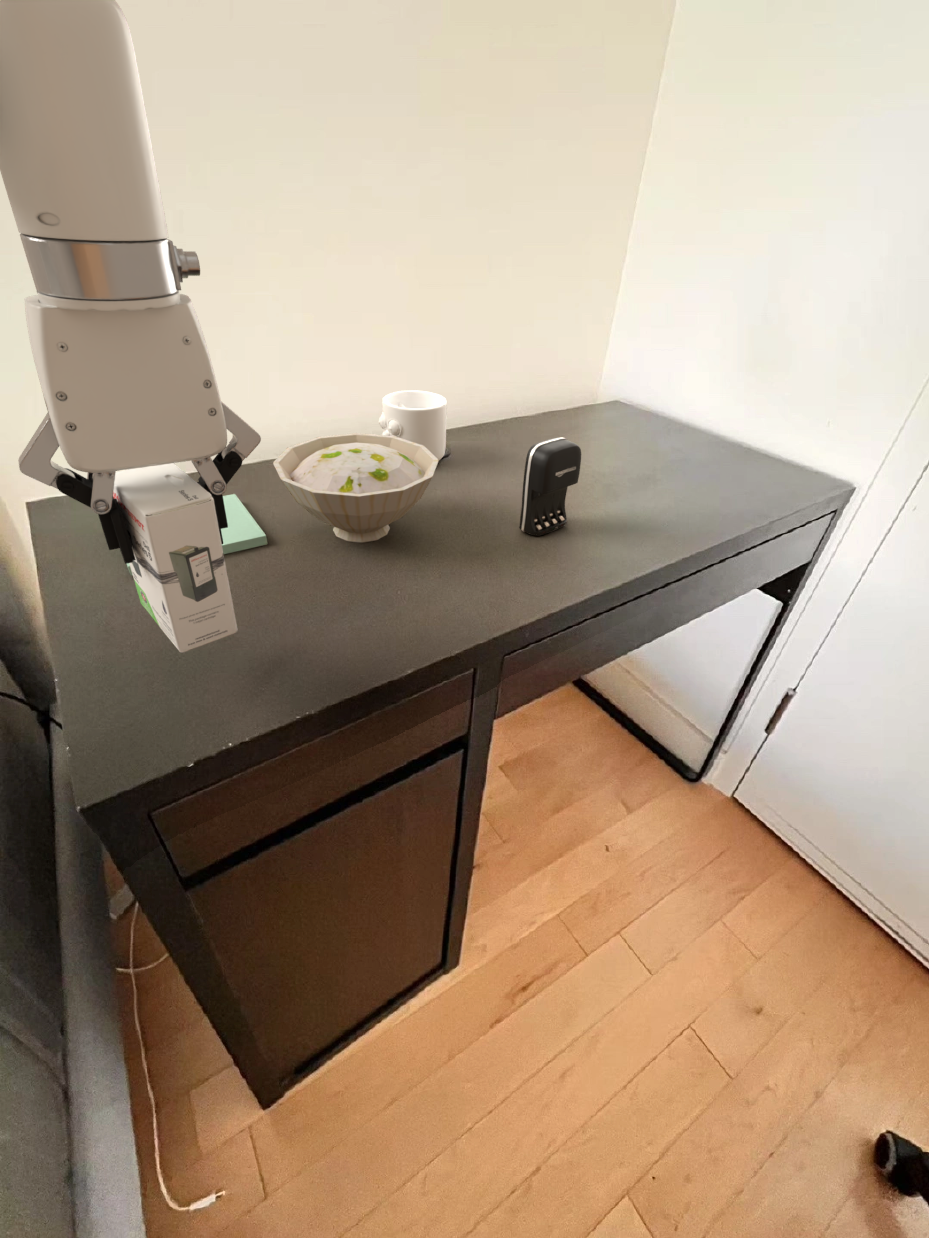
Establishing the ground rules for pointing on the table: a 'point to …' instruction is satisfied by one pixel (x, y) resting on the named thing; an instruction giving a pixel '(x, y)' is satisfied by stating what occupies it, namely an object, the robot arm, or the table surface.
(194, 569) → the ink box
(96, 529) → the table surface
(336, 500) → the bowl
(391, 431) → the mug
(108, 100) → the robot arm
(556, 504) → the battery charger
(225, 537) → the scale
